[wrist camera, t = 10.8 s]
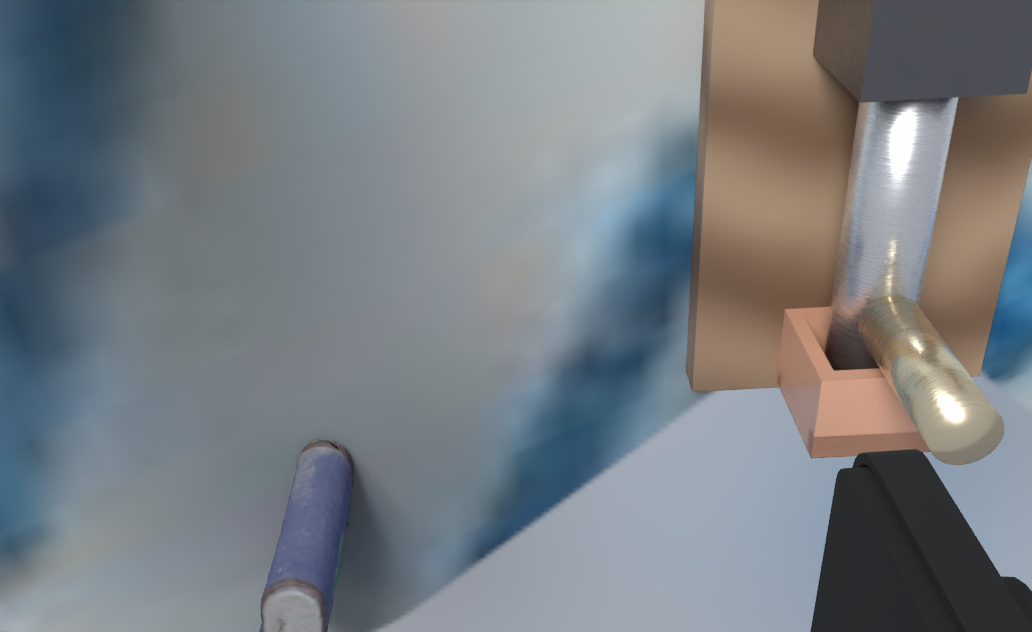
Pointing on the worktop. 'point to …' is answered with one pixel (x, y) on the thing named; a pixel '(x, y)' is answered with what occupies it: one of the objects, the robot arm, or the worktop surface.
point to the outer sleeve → (925, 47)
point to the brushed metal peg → (903, 277)
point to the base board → (823, 197)
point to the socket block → (838, 395)
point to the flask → (309, 542)
